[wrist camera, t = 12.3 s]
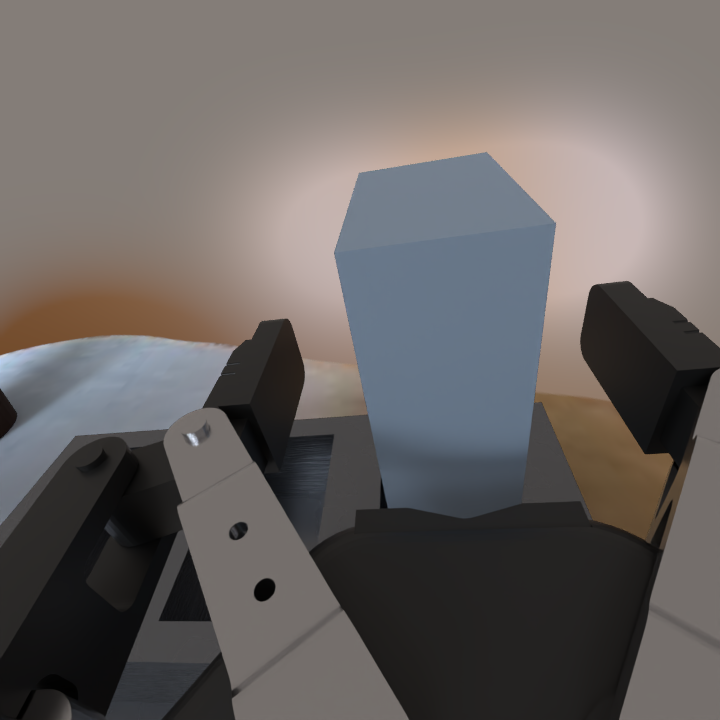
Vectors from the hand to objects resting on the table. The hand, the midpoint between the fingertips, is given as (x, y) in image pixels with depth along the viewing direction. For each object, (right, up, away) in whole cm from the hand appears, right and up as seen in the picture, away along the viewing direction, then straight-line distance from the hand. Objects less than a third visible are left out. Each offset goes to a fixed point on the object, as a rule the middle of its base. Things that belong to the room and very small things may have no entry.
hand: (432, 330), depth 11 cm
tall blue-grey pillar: (+2, -9, +5) cm, 10 cm away
